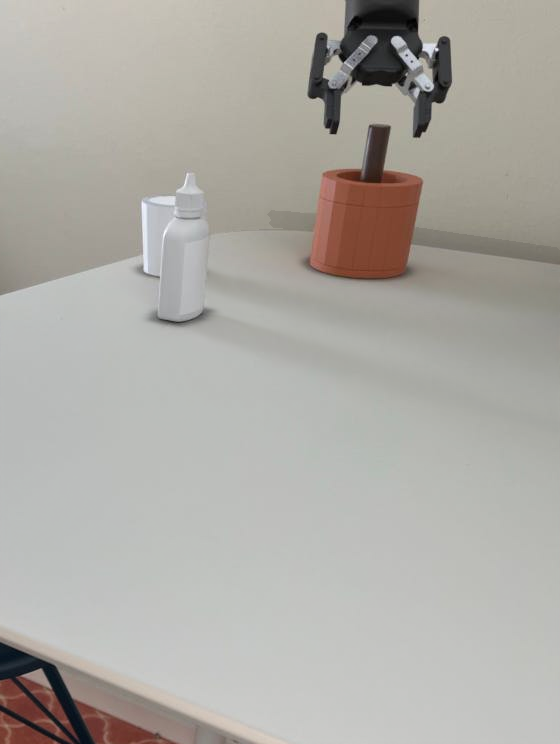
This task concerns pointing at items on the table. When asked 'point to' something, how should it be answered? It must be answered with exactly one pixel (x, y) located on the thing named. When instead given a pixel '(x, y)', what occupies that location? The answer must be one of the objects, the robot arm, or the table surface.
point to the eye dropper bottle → (184, 257)
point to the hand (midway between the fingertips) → (376, 130)
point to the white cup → (157, 228)
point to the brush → (375, 153)
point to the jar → (365, 224)
